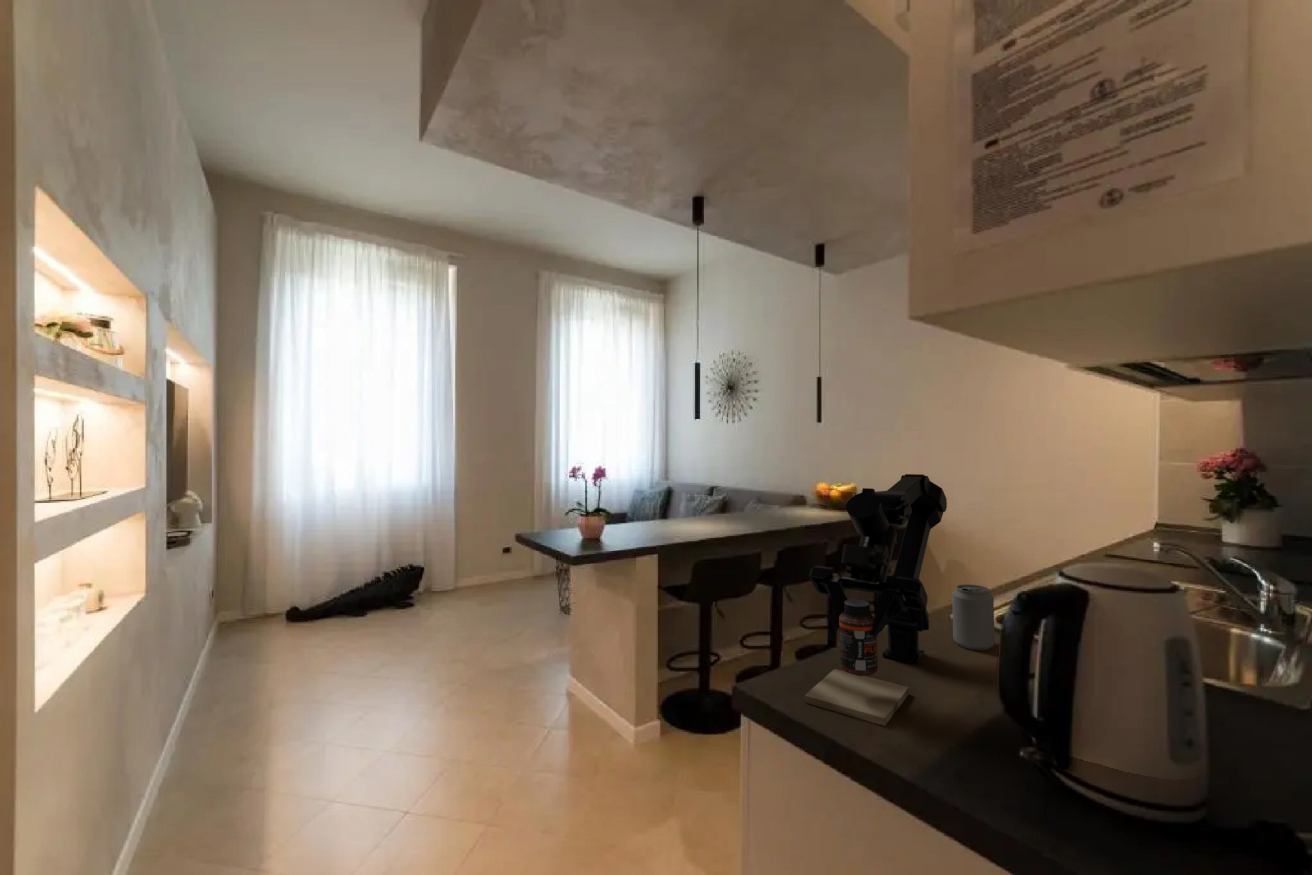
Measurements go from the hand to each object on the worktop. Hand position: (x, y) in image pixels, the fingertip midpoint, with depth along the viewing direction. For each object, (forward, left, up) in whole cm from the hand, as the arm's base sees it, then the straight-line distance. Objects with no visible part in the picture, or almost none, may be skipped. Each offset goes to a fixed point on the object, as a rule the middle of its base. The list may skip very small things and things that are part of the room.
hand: (854, 631), depth 93 cm
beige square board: (-2, -1, -12) cm, 12 cm away
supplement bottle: (-1, 0, -7) cm, 7 cm away
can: (-39, +10, -12) cm, 43 cm away
